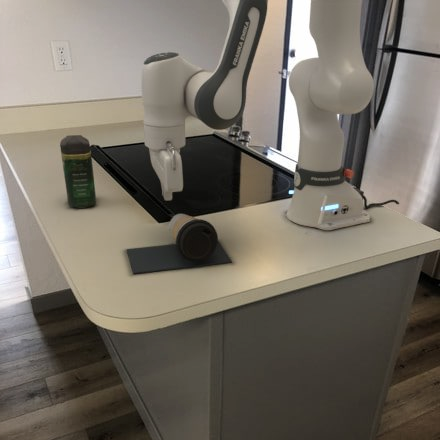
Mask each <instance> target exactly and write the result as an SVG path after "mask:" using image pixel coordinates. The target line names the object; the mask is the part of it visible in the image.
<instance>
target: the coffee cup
mask: <svg viewBox="0 0 440 440" xmlns="http://www.w3.org/2000/svg"><path fill="white" fill-rule="evenodd" d="M168 229H169V232H170V234H171V236H172V239H173V241H174V242H175V244H176V246H177V249H178V252H179V253H180V254H181V256H182V257H184V258H185V259H187V260H190V261H194V262H198V261H203V260H205V259H207V258H208V257H210V256H211V255H212V254H213V252H214V251H215V249H216V247H217V243H218V241H219V238H218V237H219V236H218V232H217V230H216V228H215V227H214V225H213V224H212V223H211V222H209V221H208V220H205V219H201V218H200V219H199V218H196V217H195V216H192V215H191V216H190V215H188V214H185V213H177V214H175V215H174V216H173V217H171V219H170V221H169V225H168Z"/></svg>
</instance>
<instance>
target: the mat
mask: <svg viewBox="0 0 440 440" xmlns="http://www.w3.org/2000/svg"><path fill="white" fill-rule="evenodd" d="M126 253H127V256H128V257H127V258H128V260H129V264H130V268H131V271H132V274H133V275H140V274H148V273H156V272H157V273H158V272H165V271H174V270H183V269H192V268H199V267H200V268H201V267H207V266H217V265H225V264H232V263H233V261H232V259H231V257H230V256H229V255H228V253H227V252H226V250H225V249H224V248H223V245H222V244H221V243H220V241H219V240H218V243H217V247H216V249H215V251H214V252H213V254H212V255H211V256H210V257H208V258H207V259H205V260H203V261H198V262H194V261H190V260H187V259H185V258H184V257H182V256H181V254H180V253H179V252H178V249H177V246H176V243H173V244H172V243H171V244H164V245H153V246H145V247H144V246H143V247H134V248H127V249H126Z"/></svg>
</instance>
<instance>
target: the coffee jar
mask: <svg viewBox="0 0 440 440" xmlns="http://www.w3.org/2000/svg"><path fill="white" fill-rule="evenodd" d="M59 147H60V154H61V155H60V156H61V160H62V161H61V163H62V169H63V175H64V176H63V177H64V182H65V183H64V184H65V189H66V191H65V192H66V197H67V204H68V205H69V206H70V208H78V209H86V208H88V207H92V206H95V205H96V202H97V196H96V195H97V194H96V187H95V186H96V185H95V176H94V168H93V167H94V165H93V159H92V158H93V157H92V151H91V145H90V141H89V139H88V138H87V137H84V136H83V135H81V134H74V135H73V134H71V135H70V134H69V135H65V137H64V138H62V139H61V141H60V142H59Z"/></svg>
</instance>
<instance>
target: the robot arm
mask: <svg viewBox="0 0 440 440" xmlns="http://www.w3.org/2000/svg"><path fill="white" fill-rule="evenodd" d="M221 2H222V3H223V5H224V6H225V8H226V9H227V12H228V15H229V26H228V31H227V34H226V37H225V41H224V44H223V46H222V51H221V54H220V57H219V61H218V64H217V67H216V68H215V70H214V71H210V70H207V69H204V68H202V67H199V66H197V65H195V64H193V63H191V62H189V61H187V60H186V59H185V58H184V57H182V56H181V55H180V54H179V53H178V52H174V51H173V52H171V51H169V52H160V53H156V54H153V55H151V56H149V57H147V58H146V59H145V60H144V61H143V65H142V68H141V103H142V105H143V109H144V116H143V119H142V121H143V137H144V138H143V140H144V146H145V147H146V148H148V151H149V157H150V163H151V166H152V168H153V171H154V172H155V173H156V175H157V178H158V179H159V181H160V186H161V195H162V197H163V199H164V201H172V200H173V193H179V192H183V188H184V175H183V162H182V157H181V154H180V153H181V149H182V148H184V147H185V146H186V120H187V118H189V117H193V118H195V119H197V120H198V121H200V122H202V123H203V124H204V125H205V126H207V127H208V128H210V129H212V130H215V131H223V130H226V129H229V128H232V127H234V125H235V124H237V122H238V121H239V120H240V119H241V117H242V116H243V114H244V111H245V109H246V103H247V87H248V81H249V76H250V73H251V69H252V67H253V63H254V60H255V57H256V54H257V50H258V47H259V43H260V41H261V38H262V34H263V31H264V26H265V23H266V18H267V14H268V3H269V0H221ZM362 6H363V0H310V7H309V8H310V10H309V21H308V22H309V24H308V29H309V34H310V36H311V37H312V39H313V41H314V44H315V47H316V51H317V57H309V58H306V59H303V60H300V61H298V62H297V63H296V64H295V65H294V66H293V67H292V68H291V70H290V73H289V76H288V89H289V91H290V93H291V95H292V97H293V99H294V102H295V106H296V113H297V119H298V127H299V142H298V155H297V163H296V165H295V168H294V178H293V186H294V187H293V188H294V189H293V190H289V191H288V194H289V195H292V197H291V201H290V204H289V207H288V210H287V212H286V218H287V219H288V220H289V221H291V222H293V223H295V224H297V225H301V226H304V227H311V228H317V229H320V230H323V231H333V230H336V229H342V228H347V227H351V226H355V225H360V224H366V223H369V222H370V221H371V215H370V214H369V213H368V212H367V210H368V209H369V208H370V207H379V206H384V205H387V204H389V203H394V204H395V205H399V204H400V202H399V201H398V200H396V199H388V200H386V201H383V202H375V203H374V202H372V203H369V204H368V199H367V197H366V195H364V193H365V192H364V191H363V190H361V189H359V188H357V187H355V186H352V185H351V184H350V183H349V182H347V180H346V178H347V179H352V178H353V177H354V175H355V172H354V170H352V169H350V168H347V169H346V167H344V166H342V160H343V154H344V146H345V142H346V141H345V133H344V131H343V129H342V127H341V125H340V122H339V117H338V115H356V114H358V113H361V112H362V111H363V110H364V109H366V108H367V106H368V105H369V103H370V102H371V100H372V97H373V95H374V90H375V82H374V78H373V76H372V74H371V73H370V71H369V69H368V68H367V65H366V63H365V62H366V61H365V59H364V54H363V48H362V42H361V15H362ZM345 177H346V178H345ZM364 208H365V209H367V210H365V209H364Z"/></svg>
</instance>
